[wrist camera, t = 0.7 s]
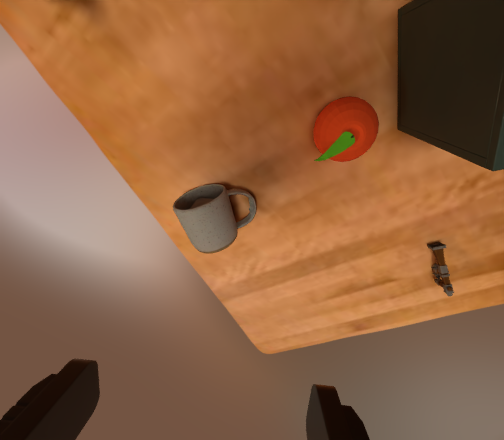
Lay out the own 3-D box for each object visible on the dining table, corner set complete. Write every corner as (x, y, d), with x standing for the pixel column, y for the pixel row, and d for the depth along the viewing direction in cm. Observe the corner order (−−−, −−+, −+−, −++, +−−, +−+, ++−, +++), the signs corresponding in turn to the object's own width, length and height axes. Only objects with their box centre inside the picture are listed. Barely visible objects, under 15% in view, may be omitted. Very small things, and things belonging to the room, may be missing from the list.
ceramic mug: (202, 233, 41) (188, 262, 35) (183, 189, 38) (163, 213, 31) (262, 221, 39) (259, 250, 32) (248, 173, 35) (241, 195, 29)
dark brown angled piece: (432, 287, 41) (446, 299, 36) (420, 242, 40) (433, 248, 36) (444, 285, 40) (460, 297, 36) (432, 239, 40) (447, 245, 35)
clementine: (327, 168, 34) (337, 188, 27) (293, 132, 32) (295, 145, 26) (379, 124, 30) (403, 136, 24) (344, 80, 28) (361, 81, 22)
